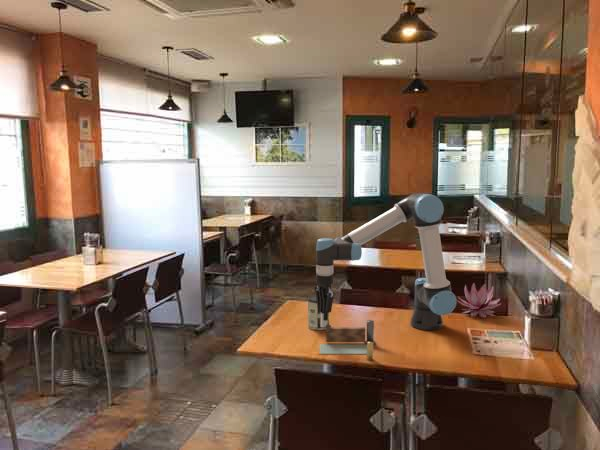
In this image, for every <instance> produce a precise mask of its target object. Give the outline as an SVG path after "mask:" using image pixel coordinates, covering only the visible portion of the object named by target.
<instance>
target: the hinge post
mask: <svg viewBox="0 0 600 450" xmlns="http://www.w3.org/2000/svg"><path fill="white" fill-rule="evenodd" d="M374 324H375V321H374V320H372V319H368V320H366V339H365V342H363V345H366V346H367V342H368V341H371V342H373V346H376V344H377V342H376V341H375V340H374V339H375V335H374V333H375V331H374V329H375V325H374Z"/></svg>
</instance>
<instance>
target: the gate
mask: <svg viewBox="0 0 600 450" xmlns="http://www.w3.org/2000/svg"><path fill="white" fill-rule="evenodd" d="M365 341H366V327H365V326H364V327H360V326H359V327H358V326H357V327H356V326H355V327H354V326H353V327H349V326H348V327H345V326H343V327H341V326H340V327H339V326H338V327H335V326H334V327H332V325H331V324H329V325H326V329H325V342H326V343H364V342H365Z"/></svg>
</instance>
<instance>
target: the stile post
mask: <svg viewBox="0 0 600 450" xmlns="http://www.w3.org/2000/svg"><path fill="white" fill-rule="evenodd" d="M366 347H367V354H366V361H369V362H370V361H373V360H374V345H373V342H371V341H368V342H367V345H366Z"/></svg>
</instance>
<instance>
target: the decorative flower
mask: <svg viewBox="0 0 600 450" xmlns="http://www.w3.org/2000/svg"><path fill="white" fill-rule="evenodd" d="M464 295H465V299H466V300H467V301H466V300H464V299H462V298H461V297H460V296H457V298H458V299H459V300H458V299H456V300H457V302H458V303H459V304H461V305H462V306H464V307H468V308H466V309H465V308H462V309H461V310H462V311H463V310H464V311H463V312H462V314H468V313H469V315H470V317H474V318H476V316H479V317H480V318H486V319H487V315H488V316H492V317H496V315H495V314H494V311H492V310H491V309H495V308H497V307H499V306H500V305H501V303H498V302H500V300H501V298H497V299H494V300H492V297H493V295H494V286H492V287H490V289H488V288H487V284H486V283H484V284H483V285H482V286H481V287H479V289H478V290H477V288H476V284H475V282H473V283H472V285H471V288H470V291H469V290H468V287H467V285H466V284H465V286H464Z"/></svg>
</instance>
